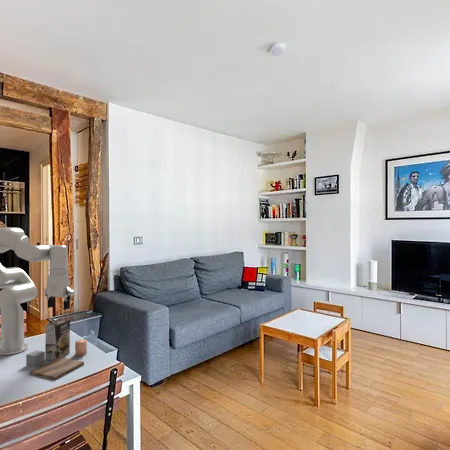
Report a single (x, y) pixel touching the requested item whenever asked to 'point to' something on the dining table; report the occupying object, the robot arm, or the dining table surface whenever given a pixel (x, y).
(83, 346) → the terracotta cylinder
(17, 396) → the dining table surface
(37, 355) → the grey block
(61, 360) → the walnut board
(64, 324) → the coffee box
